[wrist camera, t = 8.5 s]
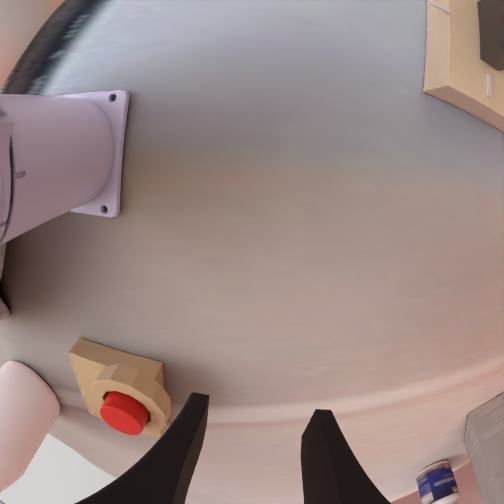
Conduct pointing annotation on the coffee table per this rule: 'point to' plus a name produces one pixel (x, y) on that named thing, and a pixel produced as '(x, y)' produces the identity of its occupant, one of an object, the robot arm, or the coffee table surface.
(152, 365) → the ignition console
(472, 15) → the tan slotted base
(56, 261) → the coffee table surface
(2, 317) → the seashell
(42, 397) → the wine bottle
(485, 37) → the dark upright block
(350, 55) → the coffee table surface
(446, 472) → the pill bottle
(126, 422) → the button
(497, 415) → the cosmetic box
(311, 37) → the coffee table surface
